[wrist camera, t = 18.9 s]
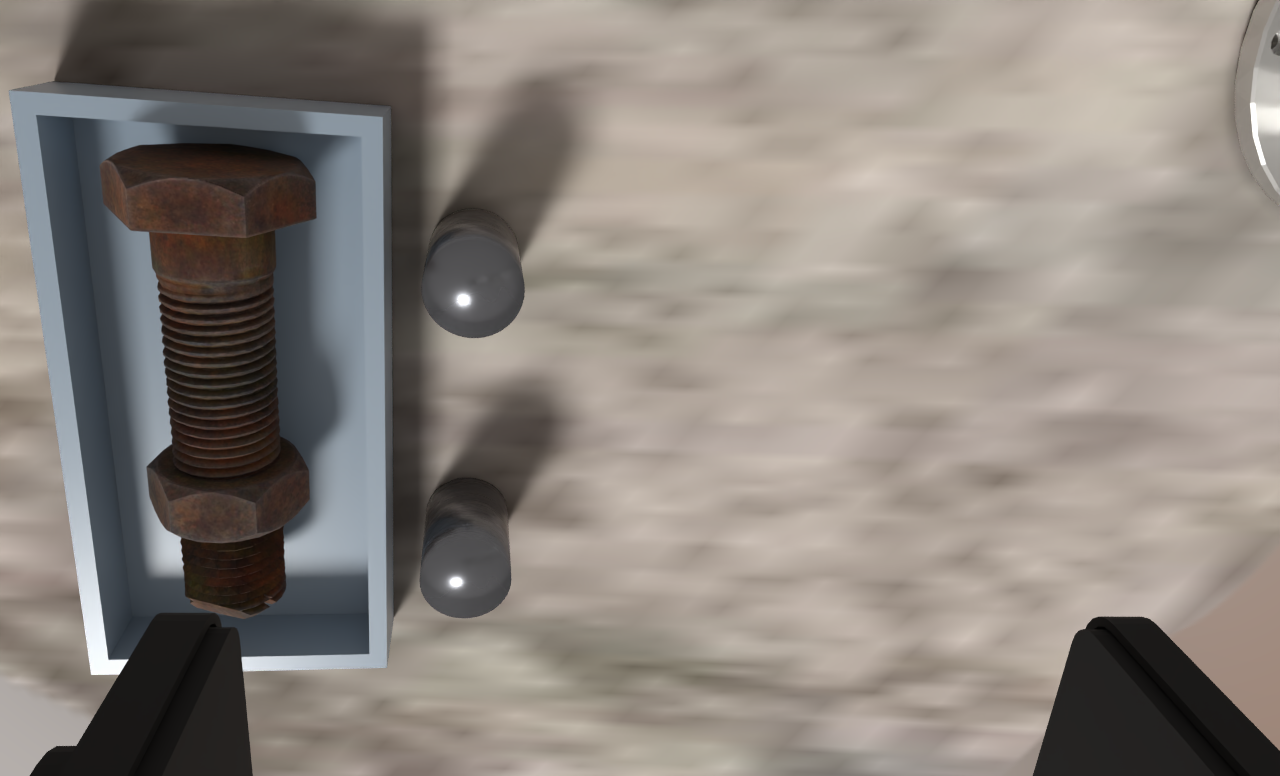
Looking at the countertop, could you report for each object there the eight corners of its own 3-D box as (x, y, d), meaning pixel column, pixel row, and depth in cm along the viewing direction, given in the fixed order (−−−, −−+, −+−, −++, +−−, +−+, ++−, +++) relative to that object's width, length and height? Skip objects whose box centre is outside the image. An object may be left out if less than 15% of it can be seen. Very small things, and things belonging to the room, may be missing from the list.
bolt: (239, 538, 37) (213, 134, 31) (351, 577, 35) (346, 160, 29) (110, 621, 32) (50, 156, 26) (234, 670, 30) (201, 189, 24)
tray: (391, 106, 31) (382, 117, 28) (393, 618, 38) (387, 667, 35) (53, 81, 29) (8, 90, 26) (120, 622, 36) (91, 674, 33)
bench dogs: (520, 211, 33) (526, 242, 28) (506, 548, 37) (509, 617, 33) (429, 205, 32) (421, 237, 28) (425, 548, 37) (419, 618, 33)
